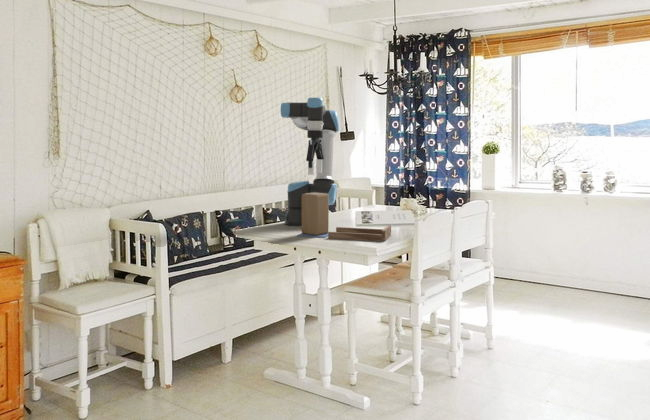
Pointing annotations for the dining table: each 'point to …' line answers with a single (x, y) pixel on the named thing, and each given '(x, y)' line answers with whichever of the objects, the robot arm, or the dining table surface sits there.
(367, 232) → the frame
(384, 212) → the dining table surface
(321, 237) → the blue square plate
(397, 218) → the dining table surface
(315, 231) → the wooden block
